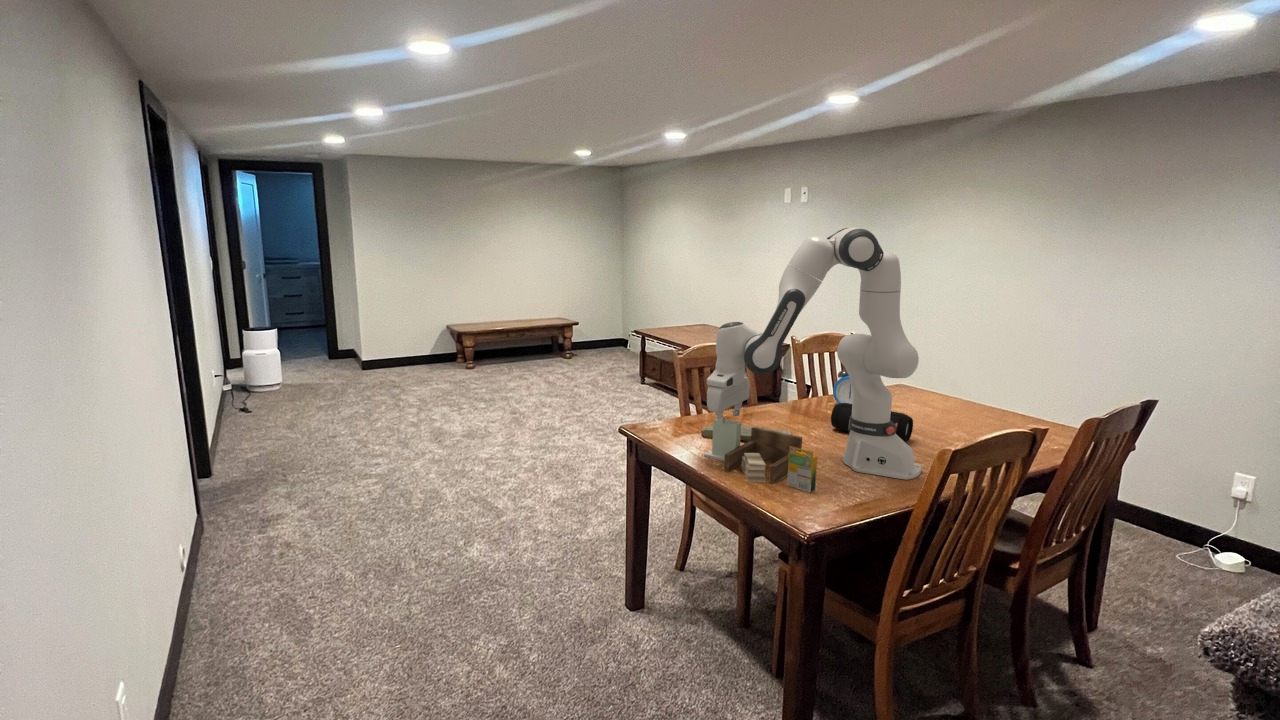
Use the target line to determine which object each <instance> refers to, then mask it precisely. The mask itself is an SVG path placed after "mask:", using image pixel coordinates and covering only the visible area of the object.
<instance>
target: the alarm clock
mask: <svg viewBox="0 0 1280 720" xmlns="http://www.w3.org/2000/svg"><path fill="white" fill-rule="evenodd" d="M837 377H838V380H836V382H835V383H834V386H833V388H832V391H833V392H832V394H833V398H834V400H835V401H836V404H840V403H849V404H852V400H853V392H852V385H851V381H850V378H849V375H848V372H847V370H846V369H841V370H840V371H839V372H838V373H837Z"/></svg>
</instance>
